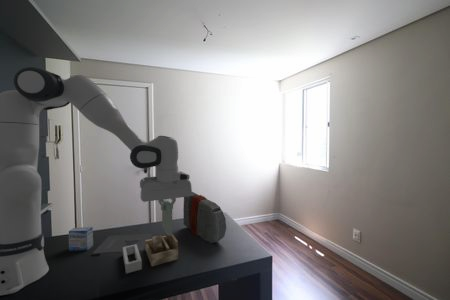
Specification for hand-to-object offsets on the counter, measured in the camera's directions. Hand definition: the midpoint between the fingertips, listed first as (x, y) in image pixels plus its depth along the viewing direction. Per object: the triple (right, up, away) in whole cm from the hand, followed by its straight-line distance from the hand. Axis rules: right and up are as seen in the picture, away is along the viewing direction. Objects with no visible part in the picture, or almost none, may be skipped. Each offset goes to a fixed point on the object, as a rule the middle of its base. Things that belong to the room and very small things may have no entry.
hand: (167, 209), depth 89 cm
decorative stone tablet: (+13, -18, +17) cm, 28 cm away
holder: (-12, -19, -6) cm, 23 cm away
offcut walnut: (-4, -16, -2) cm, 16 cm away
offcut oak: (-4, -18, -1) cm, 19 cm away
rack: (-2, -19, 0) cm, 19 cm away
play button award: (-22, -19, +9) cm, 30 cm away
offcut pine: (-4, -14, -1) cm, 14 cm away
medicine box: (-39, -19, +6) cm, 44 cm away
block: (0, -9, 0) cm, 9 cm away
